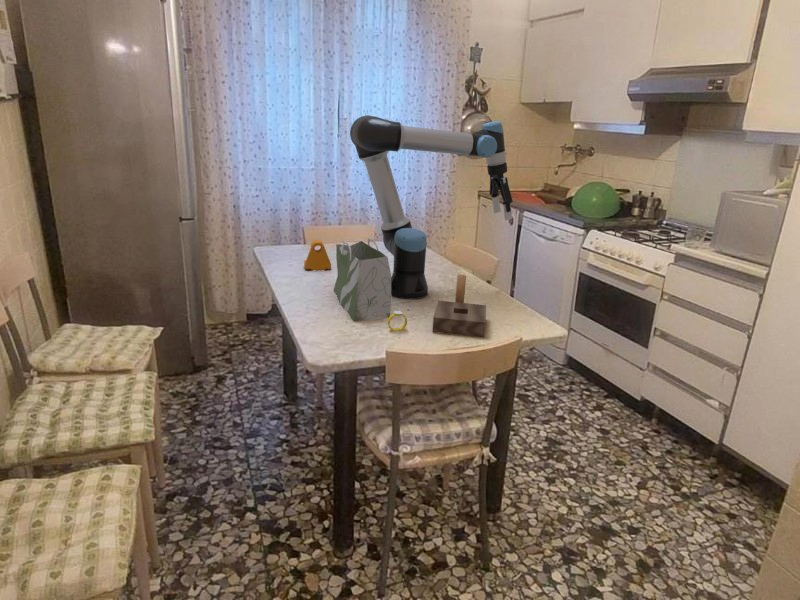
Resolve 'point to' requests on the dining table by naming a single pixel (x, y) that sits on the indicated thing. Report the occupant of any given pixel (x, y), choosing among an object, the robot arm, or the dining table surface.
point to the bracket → (317, 257)
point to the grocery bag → (363, 281)
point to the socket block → (460, 319)
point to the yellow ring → (396, 313)
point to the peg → (460, 288)
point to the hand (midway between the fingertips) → (502, 216)
